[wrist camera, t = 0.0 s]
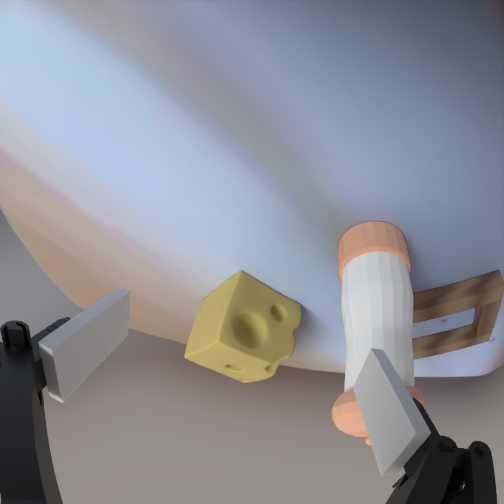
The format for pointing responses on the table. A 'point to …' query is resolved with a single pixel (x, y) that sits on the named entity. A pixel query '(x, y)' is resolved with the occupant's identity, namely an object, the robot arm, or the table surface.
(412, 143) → the table surface
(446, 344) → the rail frame
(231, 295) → the cheese
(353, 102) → the table surface
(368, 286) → the salt shaker
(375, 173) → the table surface
